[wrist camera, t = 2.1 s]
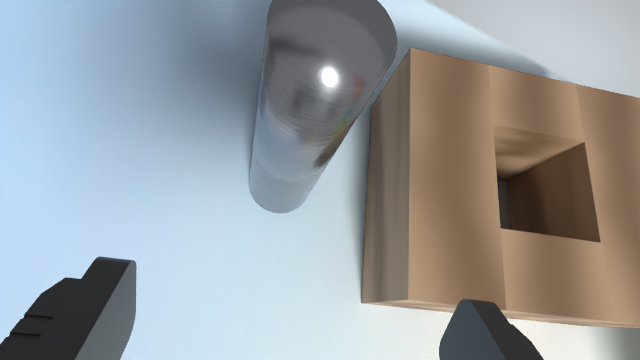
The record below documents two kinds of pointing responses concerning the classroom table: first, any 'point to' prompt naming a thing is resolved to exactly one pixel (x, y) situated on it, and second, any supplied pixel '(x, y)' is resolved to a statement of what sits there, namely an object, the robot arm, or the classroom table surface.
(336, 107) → the long pin
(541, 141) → the bore block
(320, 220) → the classroom table surface
